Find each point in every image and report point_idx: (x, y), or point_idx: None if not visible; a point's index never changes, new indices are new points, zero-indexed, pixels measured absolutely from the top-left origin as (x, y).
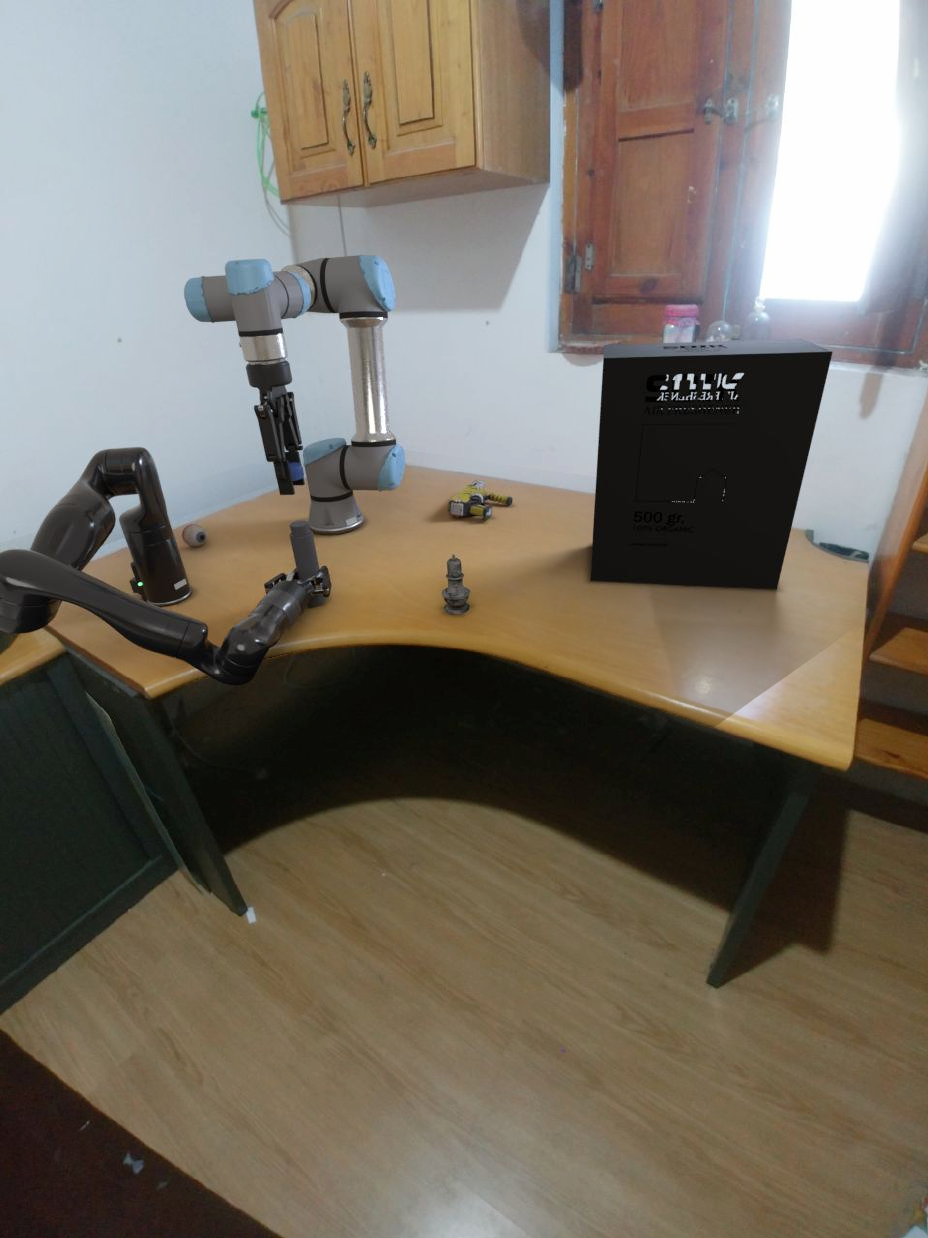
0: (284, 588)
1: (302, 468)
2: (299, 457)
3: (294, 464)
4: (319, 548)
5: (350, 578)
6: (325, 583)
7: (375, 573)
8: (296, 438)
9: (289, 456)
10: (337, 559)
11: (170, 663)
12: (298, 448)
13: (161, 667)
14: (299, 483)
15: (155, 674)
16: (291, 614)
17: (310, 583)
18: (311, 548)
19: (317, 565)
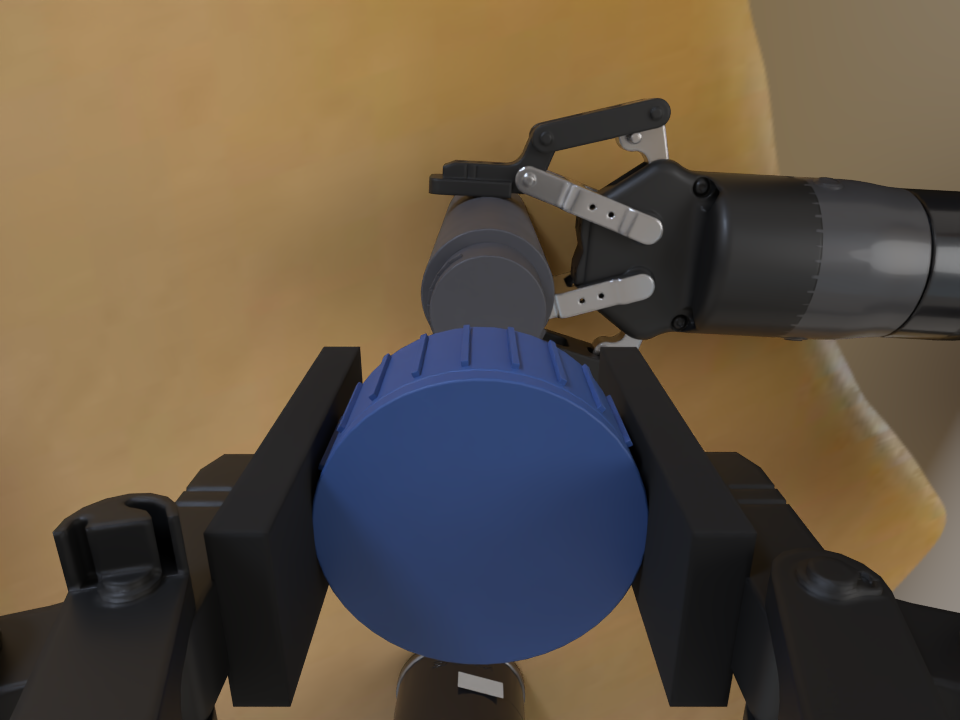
0: (803, 253)
1: (420, 366)
2: (249, 482)
3: (422, 478)
4: (13, 356)
5: (276, 130)
6: (637, 114)
7: (213, 20)
8: (41, 713)
9: (298, 608)
10: (103, 244)
11: (848, 522)
12: (159, 563)
13: (865, 535)
14: None
15: (898, 534)
16: (882, 186)
17: (621, 193)
18: (517, 222)
19: (493, 200)
